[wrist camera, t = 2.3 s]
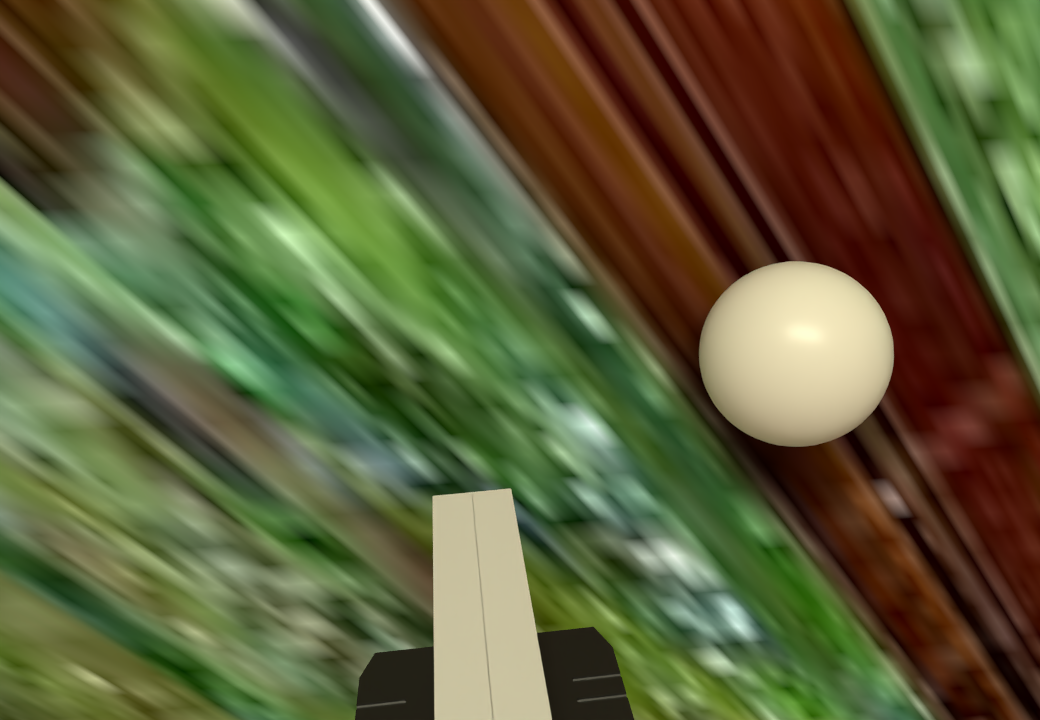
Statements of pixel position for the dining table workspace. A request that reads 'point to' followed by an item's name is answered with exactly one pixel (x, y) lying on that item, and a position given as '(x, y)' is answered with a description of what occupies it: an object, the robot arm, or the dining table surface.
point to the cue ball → (796, 354)
